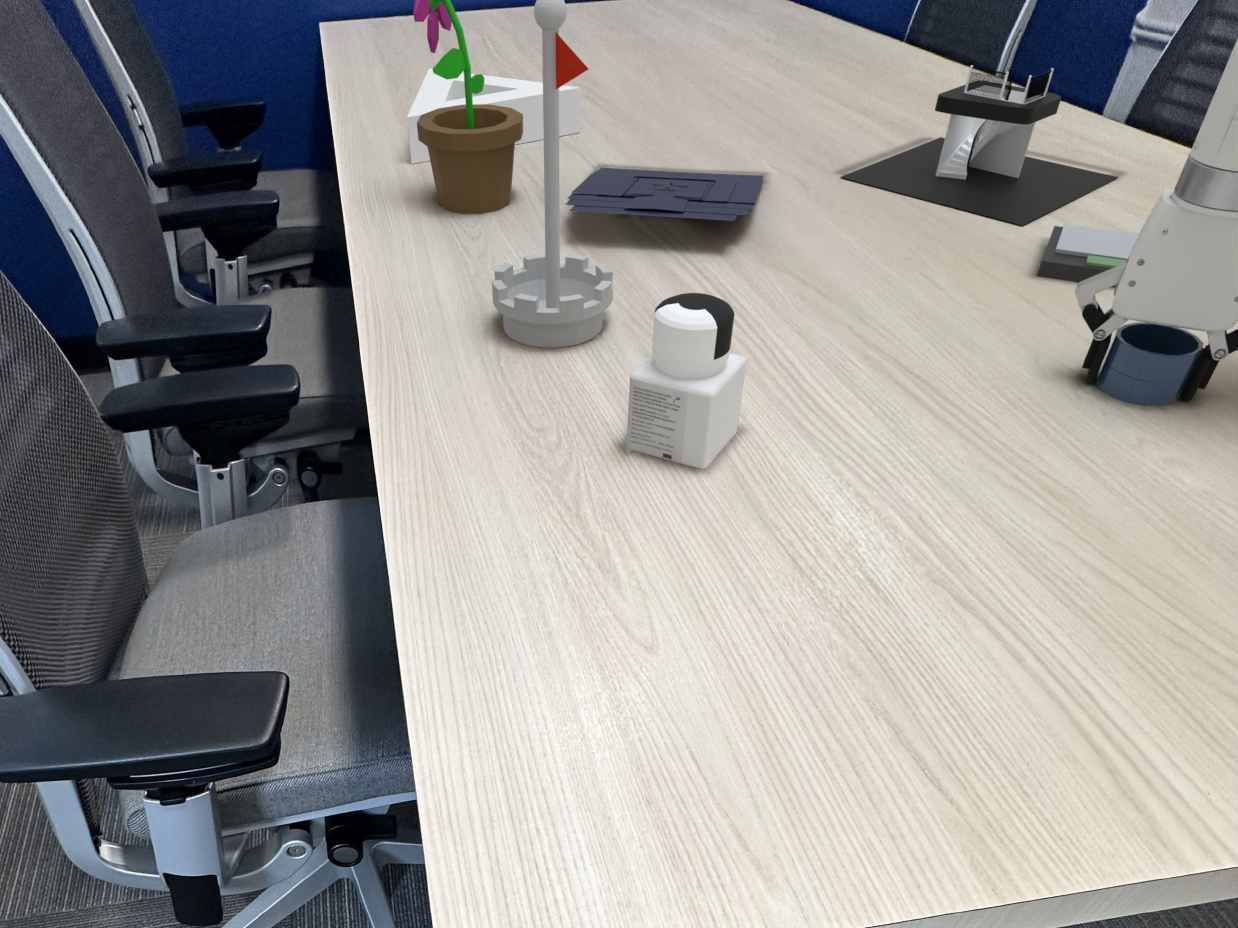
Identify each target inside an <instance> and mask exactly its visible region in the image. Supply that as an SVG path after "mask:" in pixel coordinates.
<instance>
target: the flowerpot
mask: <svg viewBox="0 0 1238 928" xmlns="http://www.w3.org/2000/svg"><path fill="white" fill-rule="evenodd" d="M413 6H414V7H413V14H412V15H413V19H414V20H413V21H414V22H415V23H424V22H425V21H426V38H427V39H426V40H427V43H428V47H429V50H430V53H431V54H436V52H437V47H438V44H439V41H440V35H439V34H440V26H441V28H442V29H444V30H446V31H449V32H450V31H451V29H452V26H453V28H454V31H455V35H456V39H457V44H458V48H457V47H456V48H455V47H452V48H451V49H449V50H448V51H447V52H445V53H444V54H443V56H442V57H441V58H440V59H439V60H438V61H437V63H436V64H435V65H434V67H432V69H433V73H434V74H436V75H438V76H441V77H443V78H445V79H455V78H458V77H459V76H460V74H461V73H464V84H465V100H466V105H457V106H451V107H445V108H438V109H436V110H433V111H430V112H428V113H425V114H423V115H421V116H420V118H419V120H418V122H417V130H418V140H419V141H420V142H422V143H423V144H424V145H426V146H427V147H428V152H429V157H430V161H429V162H430V166H431V171H432V176H433V180H434V181H433V182H434V185H435V191H436V195H437V201H438V205H439V206H440V207H441V208H442V209H444V210H445V211H449V212H454V213H458V214H485V213H491V212H495V211H499V210H501V209H503V208H505V207H507V206H509V205H510V202H511V199H512V186H513V175H514V174H513V173H514V161H515V149H516V148H515V147H516V145H515V142H517V141H519V140H521V138H522V134H523V114H521V113H520V112H518V111H516V110H514V109H512V108H509V107H503V106H496V105H490V104H480V105H473V101H472V93H474V94H478V93H480V92H482V91H483V86H484V77H483V75H484V74H479V73H478V74H477V73H474V74H475V75H474V76H473V77H471V74H472V70H471V62H470V58H469V52H468V48H467V43H466V37H465V33H464V29H463V26H462V24H461V21H460V19H459V17H458V15H457V13H456V10H455V7H454V6H453V3H452V1H451V0H414V5H413ZM426 19H427V20H426Z"/></svg>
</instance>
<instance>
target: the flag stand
mask: <svg viewBox="0 0 1238 928" xmlns="http://www.w3.org/2000/svg"><path fill="white" fill-rule="evenodd" d="M533 8H534V9H533V15H534V16H533V17H534V20H535V23H536V24H537V26H538V27H539V28H540V29H541V35H542V36H541V44H542V45H541V48H542V53H541V54H542V83H543V127H544V139H543V179H544V180H543V186H544V187H543V190H544V193H543V194H544V241H545V242H544V252H545V253H538V254H537V253H536V254H529V255H526V256H523V257H522V259H523V260H522V261H523V266H522V267H520V268H517V269H514V265H513V264H510V263H507V262H505V263H503V264H501V265H500V266H498V267H497V268H496V269H495V270H494V271H493V272H494V280H491V293H492V304H493V306H494V308H495V309H496V310H497V311H498V312H499V313H500V314H502V323H503V331H504V333H505V334H506V336H507V337H508V338H510V339H511V340H513V341H514V342H517V343H519V344H521V345H526V346H528V347H529V346H530V347H536V348H547V349H550V348H551V349H552V348H553V349H554V348H555V349H556V348H565V347H572V346H573V347H574V346H576V345H579V344H583V343H586V342H588V341H590V340H592V339H594V338H595V337H597V336H598V335H599V334H600V332H602V329H603V326H604V325H603V324H604V323H603V320H604V312H605V311H606V310H607V309H608V308H609V307H610V306H611V305H612V302H613V299H614V285H613V270H612V269H611V267H610V266H608V265H607V264H606V263H600V264H597V265H595V269H593V268H591V267H589V256H585V255H580V254H574V253H567V254H566V255H565V260H564V261H565V263H561V256H560V255H561V254H560V253H561V251H560V249H561V248H560V247H561V246H560V245H561V241H560V240H561V239H560V237H561V236H560V233H561V232H560V231H561V230H560V136H559V88H560V87H561V86H563V85H566V84H568V83H570V82H571V81H572V80H574V79H575V78H577V77H579V76H580V75H582V74H584V73H585V72H588V70H589V67H588V66H587V65H586V64H585V63H584V62H583V60H581V58H580V57H579V56H578V55H577V54H576V53H575V52H574V51H573V49H572V48H571V47H570V46H569V45H568V44H567V43H566V41H564V39H562V37H561V36H560V28H561V27H562V26H563V25H564V23H565V21H566V17H567V12H568V11H567V4H566V2H565V0H536V1H535V4H534V7H533Z"/></svg>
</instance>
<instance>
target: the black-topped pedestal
mask: <svg viewBox="0 0 1238 928" xmlns="http://www.w3.org/2000/svg"><path fill="white" fill-rule="evenodd" d="M1054 69H1055V68H1053V67H1051V68H1050V70H1048V71H1046V72H1043V73H1039V74H1037V75H1035V76H1033V75H1031V74H1030V75H1028V79H1027V83H1026V86H1025V87H1021V86H1015V85H1013V83H1012V77H1011V75H1010V73H1009V71H1006V72H1005V71H1004V72H1003V71H998V70H991V69H986V68H981V67H976V66H974V65H972V64H971V65H970V67H969V71H968V73H967V74H968V75H967V78H966V82H965V84H963V85H960V86H957V87H954V88H952V89H949V90H946V91H943V92H941V93H938V95H937V98H936V103H935V107H934V111H935V112H938V113H943V114H947V115H950V117H949V121H948V124H947V128H946V133H945V137H941V136H940V137H938V138H935V139H933V140H929V141H928V142H925V143H923V144H920V145H918V146H915V147H912V148H910V149H908V150H905V151H902V152H900V153H897V154H894V155H892V156H889V157H887V158H885V159H882V160H879V161H877V162H874V163H872V164H869V165H867V166H864V167H862V168H858V169H856V170H854V171H852V172H849V173H847V174H846V173H845V174H844V175H842V176H840V178H842V179H847V180H850V181H853V182H858V183H861V184H865V185H869V186H872V187H876V188H879V189H883V190H887V191H890V192H891V191H892V192H894V193H898V194H903V195H906V196H911V197H913V198H918V199H921V200H924V201H928V202H929V201H930V202H933V203H937V204H940V205H944V206H947V207H951V208H956V209H959V210H962V211H966V212H970V213H973V214H978V215H982V216H985V217H990V218H993V219H997V220H1000V221H1004V222H1007V223H1013V224H1015V225H1018V226H1025V225H1027V224H1029V223H1030V222H1032V221H1035V220H1036V219H1039V218H1041V217H1043V216H1045V215H1047V214H1049V213H1051V212H1052V211H1055V210H1056V209H1059V208H1060V207H1062V206H1065V205H1067V204H1068V203H1070V202H1072V201H1074V200H1077V199H1078V198H1080V197H1081V196H1085V195H1086V194H1088V193H1090V192H1092V191H1095V190H1096V189H1098V188H1101V187H1102V186H1104V185H1106V184H1108V183H1110V182H1112V181H1114V180H1116V179H1118V178H1119V176H1115V175H1112V174H1107V173H1102V172H1099V171H1098V172H1097V171H1092V170H1090V169H1089V170H1088V169H1083V168H1080V167H1075V166H1070V165H1065V164H1061V163H1057V162H1052V161H1048V160H1043V159H1039V158H1036V157H1035V158H1034V157H1030V156H1026V155H1027V151H1028V149H1029V145H1030V142H1031V139H1032V135H1033V133H1034V129H1035V126H1036V123H1037V122H1039V121H1041V120H1045V119H1047V118H1050V117H1052V116H1054V115H1056V114H1057V113H1058V110H1059V107H1060V104H1061V101H1062V96H1060V95H1059V94H1056V93H1054V92H1048V89H1049V86H1050V83H1051V79H1052V77H1053V72H1054Z"/></svg>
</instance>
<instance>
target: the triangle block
mask: <svg viewBox="0 0 1238 928" xmlns="http://www.w3.org/2000/svg"><path fill="white" fill-rule="evenodd" d="M475 74H476V73H471V77H473V76H474V75H475ZM482 75H483V77H484V86H483V91H482V92H480V93H478V94H474V93H472V101H473V105H480V104H490V105H496V106H503V107H509V108H512V109H514V110H516V111H518V112H520V113H521V114H523V134H522V138H521V140H519V141H517V142H515V146H517V145H520V144H521V145H522V144H526V143H531V142H536V141H542V140H543V141H544V127H543V82H541V81H532V80H525V79H516V78H508V77H501V76H493V75H485V74H482ZM581 96H582V95H581V87H579V86H572V85H566V84H564V85H563V86H561V87H560V88H559V137H563V136H569V135H574V134H579V133H581ZM457 105H466V100H465V84H464V72H462V73H461V74H460V76H459V77H458V78H455V79H445V78H443V77H441V76H438V75H436V74H434V73H433V68H430V67H429V68H428V69H427V72H426V74H425V77H424V78H423V81H422V83H421V85H420V88H419V90H418V92H417V93H416V96H415V99H414V100H413V102H412V105H411V106H410V108H409V109H410V110H409V112H408V114H407V116H406V122H407V131H408V142H409V152H410V161H411V165H415V164H421V163H425V162H430V157H429V152H428V147H427V146H426V145H424V144H423V143H422V142H420V141H419V140H418V130H417V122H418V120H419V118H420V116H421V115H423V114H425V113H428V112H430V111H433V110H436V109H438V108H445V107H451V106H457Z"/></svg>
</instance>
